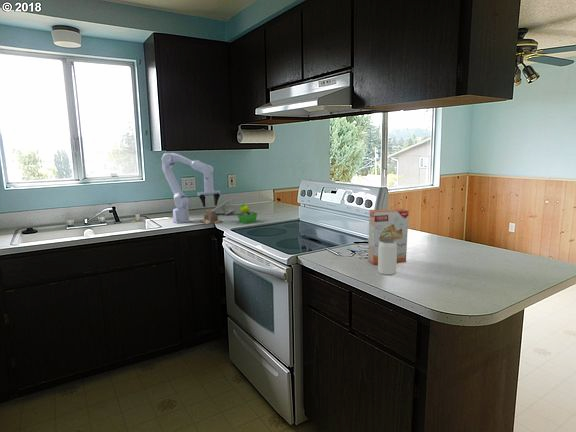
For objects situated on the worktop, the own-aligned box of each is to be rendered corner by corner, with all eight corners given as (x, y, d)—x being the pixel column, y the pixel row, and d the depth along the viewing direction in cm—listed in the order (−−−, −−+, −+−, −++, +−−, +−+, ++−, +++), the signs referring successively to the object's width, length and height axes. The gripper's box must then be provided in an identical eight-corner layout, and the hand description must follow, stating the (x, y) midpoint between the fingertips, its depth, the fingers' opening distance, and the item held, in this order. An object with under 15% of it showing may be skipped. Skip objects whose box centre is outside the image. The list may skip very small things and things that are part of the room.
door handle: (212, 223, 265) (234, 209, 260) (205, 213, 265) (228, 199, 259) (221, 218, 282) (242, 205, 277) (215, 209, 282) (236, 195, 276)
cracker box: (373, 265, 148) (374, 212, 144) (367, 260, 153) (368, 209, 150) (407, 262, 150) (409, 210, 146) (400, 258, 156) (401, 207, 152)
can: (398, 275, 136) (399, 242, 133) (379, 275, 136) (380, 242, 134) (393, 269, 142) (394, 238, 140) (376, 269, 142) (377, 238, 140)
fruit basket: (245, 224, 232) (244, 205, 230) (235, 222, 238) (234, 204, 236) (258, 221, 241) (257, 203, 239) (248, 219, 246) (248, 202, 244)
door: (212, 221, 237) (211, 212, 236) (206, 219, 245) (205, 209, 244) (216, 220, 238) (215, 211, 237) (209, 218, 246) (209, 209, 245)
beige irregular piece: (207, 224, 234) (206, 217, 234) (200, 221, 244) (199, 215, 243) (222, 222, 240) (221, 215, 239) (214, 219, 250) (214, 213, 249)
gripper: (199, 186, 231) (201, 208, 233) (222, 184, 238) (223, 205, 241) (195, 185, 236) (197, 206, 239) (217, 183, 244) (218, 204, 247)
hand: (210, 206), depth 240 cm, fingers open, 7 cm apart
